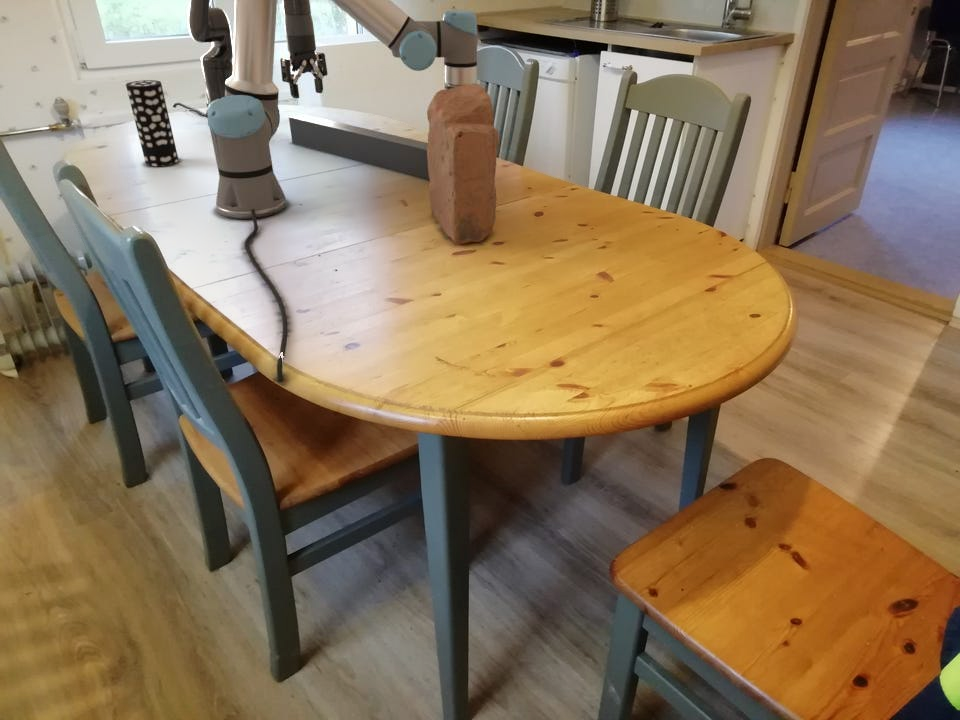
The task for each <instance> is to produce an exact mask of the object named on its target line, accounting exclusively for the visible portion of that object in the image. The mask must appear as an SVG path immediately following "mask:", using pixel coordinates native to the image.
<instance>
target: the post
mask: <svg viewBox="0 0 960 720" xmlns="http://www.w3.org/2000/svg"><path fill="white" fill-rule="evenodd" d="M288 122H289V128H290V129H289V130H290V136H291V143H292V144H293V145H297V146H301V147H305V148H309V149H313V150H316V151H320V152H324V153H328V154H330V155H331V154H332V155H335V156H337V157H343V158H347V159H351V160H354V161H358V162H361V163H366V164H369V165H372V166H376V167H380V168H384V169H388V170H392V171H395V172H399V173H402V174H406V175H411V176H413V177H418V178H421V179H426V180H428V181H430V178H429V172H428V158H427V147H428V142H426V141H421V140H417V139H414V138H413V139H412V138H407V137H404V136H400V135H395V134H391V133H388V132H387V133H386V132H383V131H378V130H374V129H369V128H365V127H362V126H361V127H360V126H356V125H352V124H347V123H343V122H339V121H333V120H330V119H325V118H323V117H322V118H321V117H317V116H313V115H308V114H304V113H300V114H296V115H292V116H289V117H288Z"/></svg>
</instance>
